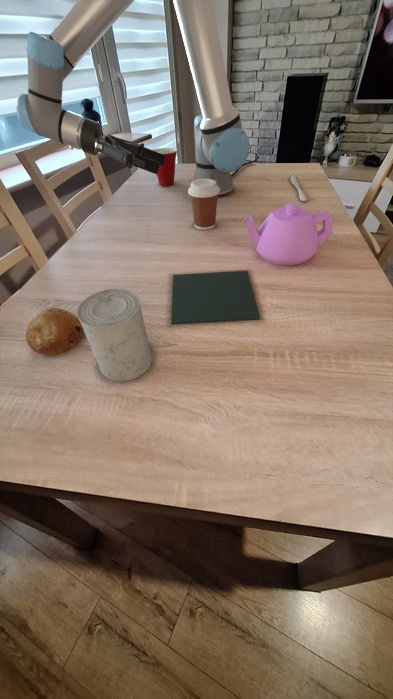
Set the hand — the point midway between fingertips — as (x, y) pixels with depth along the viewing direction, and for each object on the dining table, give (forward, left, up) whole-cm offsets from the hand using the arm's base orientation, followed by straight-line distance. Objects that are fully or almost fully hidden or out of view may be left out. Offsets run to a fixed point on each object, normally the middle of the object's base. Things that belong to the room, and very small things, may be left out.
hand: (161, 164), depth 83 cm
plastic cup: (-25, -28, -17) cm, 41 cm away
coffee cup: (-6, +10, -17) cm, 20 cm away
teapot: (-6, +38, -17) cm, 42 cm away
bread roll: (+50, +22, -17) cm, 57 cm away
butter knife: (-50, +16, -16) cm, 55 cm away
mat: (+20, +36, -16) cm, 44 cm away
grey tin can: (+45, +37, -17) cm, 60 cm away
